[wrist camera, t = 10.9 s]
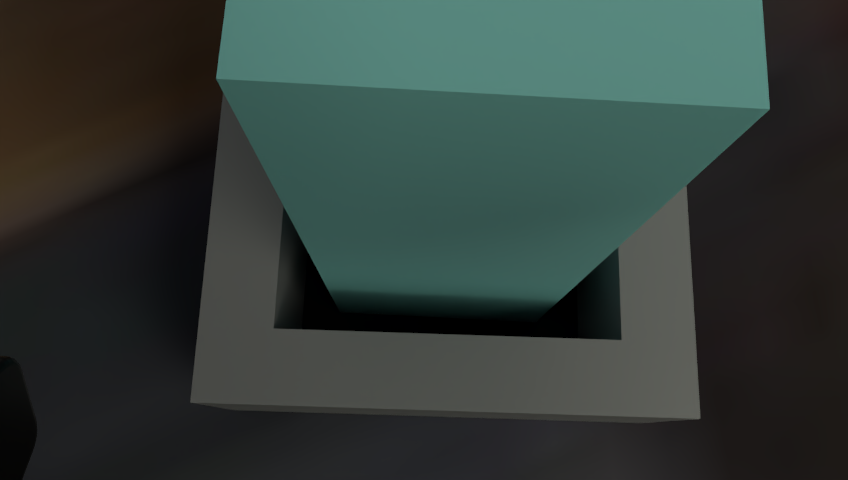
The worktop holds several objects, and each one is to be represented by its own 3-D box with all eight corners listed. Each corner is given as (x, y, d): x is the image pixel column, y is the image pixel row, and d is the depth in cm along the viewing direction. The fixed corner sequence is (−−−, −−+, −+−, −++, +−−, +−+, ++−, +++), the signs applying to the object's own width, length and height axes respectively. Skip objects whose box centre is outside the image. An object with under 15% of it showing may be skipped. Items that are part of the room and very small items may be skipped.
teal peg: (535, 322, 19) (770, 109, 7) (339, 312, 19) (215, 78, 7) (537, 140, 21) (738, -323, 8) (354, 129, 21) (271, -350, 8)
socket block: (640, 423, 19) (700, 418, 15) (235, 410, 19) (190, 402, 15) (625, 56, 21) (673, -28, 18) (268, 43, 21) (237, -45, 17)
